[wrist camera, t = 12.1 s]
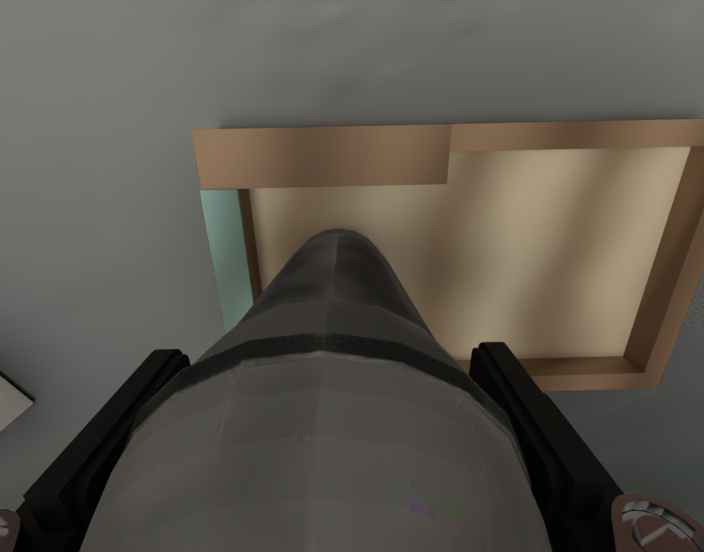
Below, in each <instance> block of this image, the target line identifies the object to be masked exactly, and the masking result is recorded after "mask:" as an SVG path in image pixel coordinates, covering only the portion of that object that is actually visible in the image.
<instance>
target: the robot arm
mask: <svg viewBox="0 0 704 552" xmlns="http://www.w3.org/2000/svg"><path fill="white" fill-rule="evenodd" d="M188 366H190V361H189V358H188V356H187V355H185V354H182V352H181V351H180V350H179V349H159V350H154V351H153V352H152V353H151V354H150V355H149V356H148V357H147V358H146V359H145V361H144V362H143V363H142V364H141V365H140V366H139V367H138V368H137V369H136V371H135V372H134V373H133V374H132V375H131V376H130V377H129V378H128V379H127V381H126V382H125V383H124V384H123V385H122V386H121V387H120V388H119V389H118V391H117V392H116V393H115V394H114V395H113V396H112V397H111V398H110V399H109V401H108V402H107V403H106V404H105V405H104V406H103V407H102V408H101V409H100V411H99V412H98V413H97V414H96V415H95V416H94V417H93V418H92V420H91V421H90V422H89V423H88V424H87V425H86V426H85V427H84V428H83V430H82V431H81V432H80V433H79V434H78V435H77V436H76V437H75V438H74V440H73V441H72V442H71V443H70V444H69V445H68V446H67V447H66V448H65V450H64V451H63V452H62V453H61V454H60V455H59V456H58V457H57V458H56V460H55V461H54V462H53V463H52V464H51V465H50V466H49V467H48V468H47V470H46V471H45V472H44V473H43V474H42V475H41V476H40V477H39V478H38V480H37V481H36V482H35V483H34V484H33V485H32V486H31V487H30V488H29V490H28V491H27V492H26V493H25V494H24V495H23V497H24V498H25V501H24V502H23V503H22V505H21V506H20V507H19V508H18V509H17V510H16V511H13V510H10V509H7V508H4V509H0V552H79V551H80V548H81V545H82V543H83V540H84V538H85V535H86V533H87V530H88V527H89V525H90V522H91V520H92V517H93V515H94V513H95V510H96V508H97V506H98V503H99V501H100V498H101V496H102V494H103V491H104V489H105V487H106V484H107V482H108V480H109V477H110V475H111V472H112V471H113V469H114V467H115V466H116V464H117V462H118V461H119V459H120V456H121V454H122V451H123V449H124V446H125V443H126V441H127V438H128V436H129V433H130V431H131V428H132V426H133V423H134V421H135V418H136V416H137V413H138V411H139V410H140V409H141V408H142V407H143V406H144V405H145V404H146V403H147V402H148V401H149V400H150V399H151V398H152V397H153V396H154V395H155V394H156V393H157V392H159V391H160V390H161V389H162V388H163V387H164V386H165V385H166V384H167V383H168V382H169V381H170V380H171V379H172V378H173V377H174V376H175V375H176V374H177V373H178V372H179V371H180V370H181V369H183V368H186V367H188ZM469 376H470V377H471V378H472V380H473V381H474V382H475V383H476V384H477V385H478V386H479V387H480V388H481V389H482V390H483V391H484V392H485V393H486V394H487V395H488V396H490V397H491V398H492V399H493V400H494V401H495V402H496V403H497V404H498V405H499V406H500V407H501V408H502V409H503V410H504V411H505V412H506V413H507V414H508V416H509V419H510V421H511V424H512V426H513V429H514V431H515V434H516V436H517V439H518V441H519V444H520V446H521V449H522V451H523V453H524V456H525V458H526V461H527V465H528V469H529V473H530V477H531V491H532V494H533V496H534V498H535V501H536V503H537V506H538V508H539V510H540V513H541V515H542V518H543V520H544V523H545V526H546V530H547V534H548V537H549V541H550V544H551V548H552V552H704V527H703V526H702V525H701V524H699V523H698V522H697V521H696V520H695V519H693V518H692V517H691V516H690V515H689V514H687V513H685V512H684V511H682V510H681V509H679V508H677V507H676V506H674V505H673V504H671V503H668V502H666V501H664V500H662V499H659V498H657V497H654V496H650V495H646V494H642V493H625V494H624V493H623V492H622V491H621V489H620V488H619V487H618V485H617V484H616V483H615V482H614V480H613V479H612V478H611V476H610V475H609V474H608V472H607V471H606V470H605V469H604V467H603V466H602V465H601V463H600V462H599V461H598V459H597V458H596V457H595V456H594V454H593V453H592V452H591V450H590V449H589V448H588V446H587V445H586V444H585V443H584V441H583V440H582V439H581V437H580V436H579V435H578V434H577V432H576V431H575V430H574V428H573V427H572V426H571V424H570V423H569V422H568V421H567V419H566V418H565V417H564V415H563V414H562V413H561V411H560V410H559V409H558V408H557V406H556V405H555V404H554V402H553V401H552V400H551V399H550V398H549V397H548V396H547V395H546V394H545V393H543V392H542V391H541V390H540V388H539V387H538V386H537V384H536V383H535V382H534V380H533V379H532V378H531V377H530V375H529V374H528V373H527V371H526V370H525V369H524V367H523V366H522V365H521V363H520V362H519V361H518V359H517V358H516V357H515V355H514V354H513V353H512V351H511V350H510V349H509V347H508V346H507V345H506V344H505V343H504V342H481V343H480V344H479V346H478V348H473V349H472V353H471V360H470V368H469Z"/></svg>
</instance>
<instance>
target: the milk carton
mask: <svg viewBox="0 0 704 552" xmlns="http://www.w3.org/2000/svg"><path fill="white" fill-rule="evenodd" d="M32 404H33V402H32V401H31V400H30V399H28V398H27V397H26V396H25V395H23V394H22V393H21V392H20V391H19V390H17V389H16V388H15V387H14V386H12V385H11V384H10V383H9V382H8V381H6V380H5V379H4V378H3V377H1V376H0V432H1V431H2V430H3V429H4V428H5V427H6V426H7V425H9V424H10V423H11V422H12V421H13V420H14V419H16V418H17V417H18V416H19V415H20V414H21V413H23V412H24V411H25V410H26V409H27V408H28V407H30V406H31V405H32Z"/></svg>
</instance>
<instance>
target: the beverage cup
mask: <svg viewBox="0 0 704 552" xmlns="http://www.w3.org/2000/svg"><path fill="white" fill-rule="evenodd" d="M79 552H552V548H551V544H550V541H549V537H548V534H547V530H546V526H545V523H544V520H543V518H542V515H541V513H540V510H539V508H538V506H537V503H536V501H535V498H534V496H533V494H532V491H531V477H530V473H529V469H528V465H527V461H526V458H525V456H524V453H523V451H522V449H521V446H520V444H519V441H518V439H517V436H516V434H515V431H514V429H513V426H512V424H511V421H510V419H509V416H508V414H507V413H506V412H505V411H504V410H503V409H502V408H501V407H500V406H499V405H498V404H497V403H496V402H495V401H494V400H493V399H492V398H491V397H490V396H488V395H487V394H486V393H485V392H484V391H483V390H482V389H481V388H480V387H479V386H478V385H477V384H476V383H475V382H474V381H473V380H472V378H471V377H470V376H469V375H468V374H467V373H466V372H465V371H464V370H463V368H462V367H461V366H460V365H459V364H458V363H457V362H456V361H455V359H454V358H453V357H452V356H451V355H450V354H449V353H448V352H447V351H446V350H445V349H444V348H443V347H442V346H441V345H440V344H439V343H438V342H437V341H436V340H435V338H434V337H433V335H432V333H431V332H430V330H429V328H428V327H427V325H426V323H425V322H424V320H423V319H422V317H421V315H420V314H419V312H418V310H417V309H416V307H415V305H414V304H413V302H412V300H411V299H410V297H409V295H408V294H407V292H406V290H405V289H404V287H403V286H402V284H401V282H400V281H399V279H398V277H397V276H396V274H395V272H394V271H393V269H392V267H391V266H390V264H389V262H388V261H387V259H386V258H385V256H384V255H383V254H382V253H381V252H380V251H379V249H378V248H377V247H376V246H375V245H374V244H373V243H372V242H371V241H370V240H369V239H368V238H367V237H365V236H363V235H361V234H359V233H357V232H355V231H351V230H345V229H333V230H326V231H323V232H321V233H319V234H317V235H315V236H313V237H311V238H310V239H309V240H308V241H307V242H306V243H305V244H304V245H303V246H302V247H301V248H300V249H299V250H298V251H296V252H295V253H294V254H293V255H292V257H291V258H290V259H289V260H288V262H287V263H286V264H285V265H284V267H283V268H282V269H281V270H280V272H279V273H278V274H277V275H276V277H275V278H274V279H273V280H272V282H271V283H270V284H269V285H268V287H267V288H266V289H265V290H264V292H263V293H262V294H261V295H260V297H259V298H258V299H257V300H256V302H255V303H254V304H253V305H252V307H251V308H250V309H249V310H248V312H247V313H246V314H245V315H244V317H243V318H242V319H241V320H240V322H239V323H238V324H237V325H236V326H235V327H234V328H233V329H231V330H230V331H229V332H228V333H227V334H226V335H225V336H223V337H222V338H221V339H220V340H219V341H218V342H216V343H215V344H214V345H213V346H212V347H211V348H210V349H209V350H208V351H207V352H205V353H204V354H203V355H202V356H201V357H200V358H199V359H198V360H197V361H196V362H195V363H194V364H192V365H190V366H188V367H186V368H183V369H181V370H180V371H179V372H178V373H177V374H176V375H175V376H174V377H173V378H172V379H171V380H170V381H169V382H168V383H167V384H166V385H165V386H164V387H163V388H162V389H161V390H160V391H159V392H157V393H156V394H155V395H154V396H153V397H152V398H151V399H150V400H149V401H148V402H147V403H146V404H145V405H144V406H143V407H142V408H141V409H140V410H139V411H138V413H137V416H136V418H135V421H134V423H133V426H132V428H131V431H130V433H129V436H128V438H127V441H126V443H125V446H124V449H123V451H122V454H121V456H120V459H119V461H118V462H117V464H116V466H115V467H114V469H113V471H112V472H111V475H110V477H109V480H108V482H107V484H106V487H105V489H104V491H103V494H102V496H101V498H100V501H99V503H98V506H97V508H96V510H95V513H94V515H93V517H92V520H91V522H90V525H89V527H88V530H87V533H86V535H85V538H84V540H83V543H82V545H81V548H80V551H79Z"/></svg>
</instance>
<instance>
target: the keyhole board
mask: <svg viewBox="0 0 704 552" xmlns="http://www.w3.org/2000/svg"><path fill="white" fill-rule="evenodd" d="M191 133H192V139H193V145H194V150H195V156H196V161H197V167H198V173H199V178H200V184H201V189H202V190H200V195H201V201H202V206H203V212H204V217H205V223H206V228H207V234H208V239H209V245H210V250H211V256H212V261H213V267H214V273H215V278H216V284H217V289H218V295H219V300H220V306H221V311H222V317H223V322H224V328H225V333H226V334H227V333H228V332H229V331H230V330H231V329H233V328H234V327H235V326H236V325H237V324H238V323H239V322H240V320H241V319H242V318H243V317H244V315H245V314H246V313H247V312H248V310H249V309H250V308H251V307H252V305H253V304H254V303H255V302H256V300H257V299H258V298H259V297H260V295H261V294H262V293H263V292H264V290H265V289H266V288H267V287H268V285H269V284H270V283H271V282H272V280H273V279H274V278H275V277H276V275H277V274H278V273H279V272H280V270H281V269H282V268H283V267H284V265H285V264H286V263H287V262H288V260H289V259H290V258H291V257H292V255H293V254H294V253H295V252H296V251H298V250H299V249H300V248H301V247H302V246H303V245H304V244H305V243H306V242H307V241H308V240H309V239H310V238H311V237H313V236H315V235H317V234H319V233H321V232H323V231H326V230H333V229H345V230H351V231H355V232H357V233H359V234H361V235H363V236H365V237H367V238H368V239H369V240H370V241H371V242H372V243H373V244H374V245H375V246H376V247H377V248H378V249H379V251H380V252H381V253H382V254H383V255H384V256H385V258H386V259H387V261H388V262H389V264H390V266H391V267H392V269H393V271H394V272H395V274H396V276H397V277H398V279H399V281H400V282H401V284H402V286H403V287H404V289H405V290H406V292H407V294H408V295H409V297H410V299H411V300H412V302H413V304H414V305H415V307H416V309H417V310H418V312H419V314H420V315H421V317H422V319H423V320H424V322H425V323H426V325H427V327H428V328H429V330H430V332H431V333H432V335H433V337H434V338H435V340H436V341H437V342H438V343H439V344H440V345H441V346H442V347H443V348H444V349H445V350H446V351H447V352H448V353H449V354H450V355H451V356H452V357H453V358H454V359H455V361H456V362H457V363H458V364H459V365H460V366H461V367H462V368H463V370H464V371H465V372H466V373H467V374H468V375H469V368H470V360H471V353H472V349H473V348H478V346H479V344H480V343H481V342H504V343H505V344H506V345H507V346H508V347H509V349H510V350H511V351H512V353H513V354H514V355H515V357H516V358H517V359H518V361H519V362H520V363H521V365H522V366H523V367H524V369H525V370H526V371H527V373H528V374H529V375H530V377H531V378H532V379H533V380H534V382H535V383H536V384H537V386H538V387H539V388H540V390H541V391H575V390H614V389H652V388H658V386H659V383H660V381H661V378H662V375H663V373H664V370H665V368H666V365H667V362H668V360H669V357H670V355H671V352H672V349H673V347H674V344H675V342H676V339H677V336H678V334H679V331H680V329H681V326H682V323H683V321H684V318H685V316H686V313H687V310H688V308H689V305H690V303H691V300H692V298H693V295H694V292H695V290H696V287H697V285H698V282H699V279H700V277H701V274H702V272H703V269H704V119H671V120H623V121H576V122H529V123H481V124H434V125H386V126H339V127H292V128H244V129H197V130H191Z"/></svg>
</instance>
